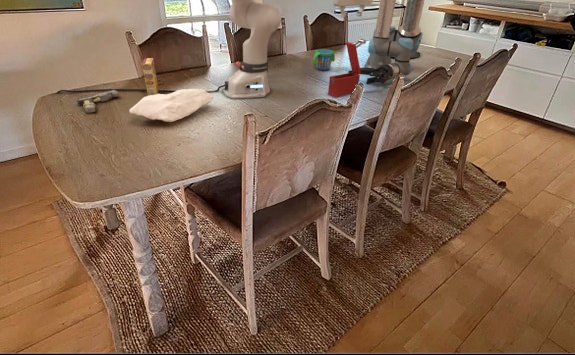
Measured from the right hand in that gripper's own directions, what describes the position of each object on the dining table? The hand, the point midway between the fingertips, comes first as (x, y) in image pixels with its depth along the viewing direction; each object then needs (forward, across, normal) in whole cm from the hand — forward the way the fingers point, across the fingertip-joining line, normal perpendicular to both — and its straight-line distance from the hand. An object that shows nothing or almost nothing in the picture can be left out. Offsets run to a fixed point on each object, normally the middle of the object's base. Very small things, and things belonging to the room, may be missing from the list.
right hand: (357, 77), depth 179 cm
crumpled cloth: (+89, +14, -7) cm, 90 cm away
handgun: (+111, +39, -7) cm, 118 cm away
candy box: (+89, +39, -6) cm, 98 cm away
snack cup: (-8, +36, -6) cm, 38 cm away
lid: (+5, 0, +10) cm, 11 cm away
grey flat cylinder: (-77, +46, -6) cm, 90 cm away
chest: (+9, 0, -6) cm, 11 cm away
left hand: (+9, 0, +28) cm, 30 cm away
